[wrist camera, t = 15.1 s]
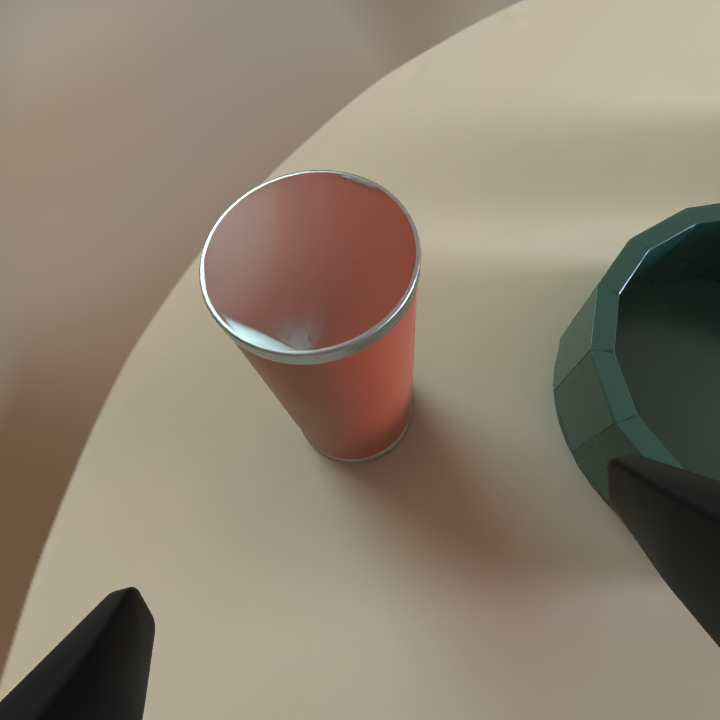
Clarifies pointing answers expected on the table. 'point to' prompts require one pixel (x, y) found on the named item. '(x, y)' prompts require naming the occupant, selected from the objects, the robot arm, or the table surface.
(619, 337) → the pot
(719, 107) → the table surface
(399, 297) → the tin can
